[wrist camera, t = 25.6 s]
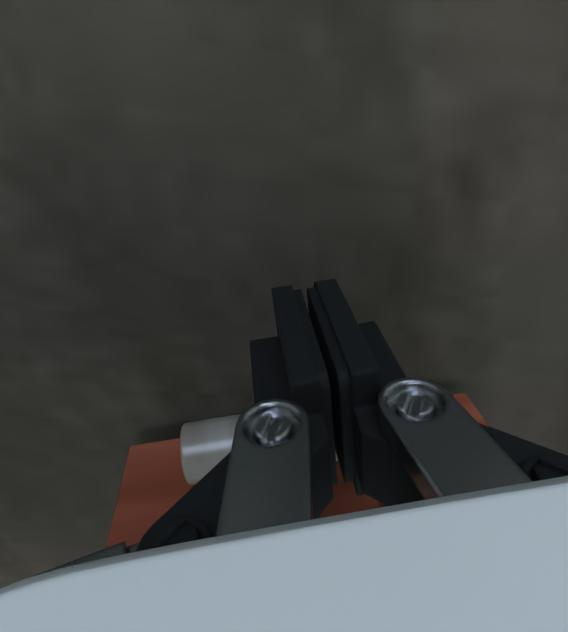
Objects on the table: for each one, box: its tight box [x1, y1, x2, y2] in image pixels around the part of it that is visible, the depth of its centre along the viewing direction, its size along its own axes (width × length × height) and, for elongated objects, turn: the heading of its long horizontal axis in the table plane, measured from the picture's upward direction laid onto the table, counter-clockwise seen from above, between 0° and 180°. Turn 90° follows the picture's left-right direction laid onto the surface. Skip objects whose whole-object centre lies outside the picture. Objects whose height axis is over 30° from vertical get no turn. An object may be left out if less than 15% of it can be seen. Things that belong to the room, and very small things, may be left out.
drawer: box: [106, 393, 489, 548], centre depth 18 cm, size 19×14×8 cm
